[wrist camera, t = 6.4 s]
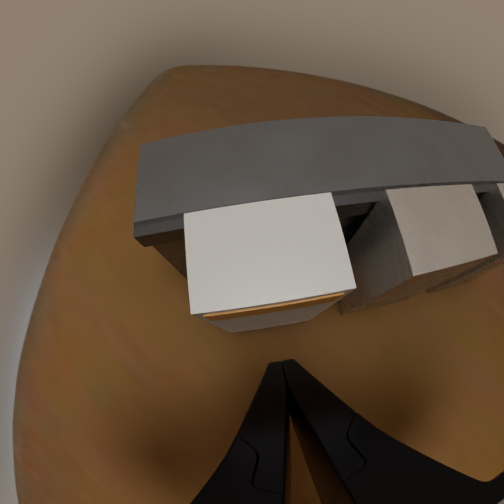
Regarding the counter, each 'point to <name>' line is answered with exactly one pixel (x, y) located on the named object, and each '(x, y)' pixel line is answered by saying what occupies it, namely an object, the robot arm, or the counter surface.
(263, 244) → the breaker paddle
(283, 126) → the box
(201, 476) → the counter surface
